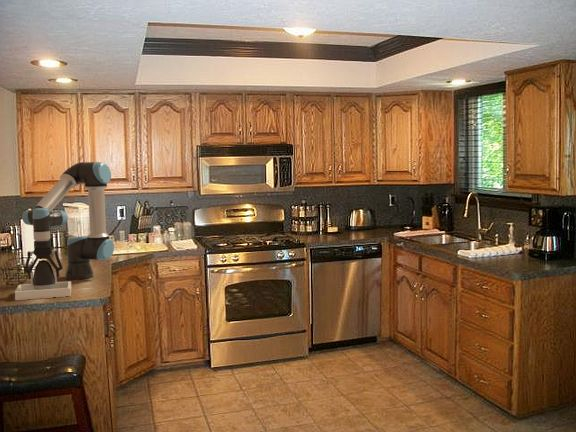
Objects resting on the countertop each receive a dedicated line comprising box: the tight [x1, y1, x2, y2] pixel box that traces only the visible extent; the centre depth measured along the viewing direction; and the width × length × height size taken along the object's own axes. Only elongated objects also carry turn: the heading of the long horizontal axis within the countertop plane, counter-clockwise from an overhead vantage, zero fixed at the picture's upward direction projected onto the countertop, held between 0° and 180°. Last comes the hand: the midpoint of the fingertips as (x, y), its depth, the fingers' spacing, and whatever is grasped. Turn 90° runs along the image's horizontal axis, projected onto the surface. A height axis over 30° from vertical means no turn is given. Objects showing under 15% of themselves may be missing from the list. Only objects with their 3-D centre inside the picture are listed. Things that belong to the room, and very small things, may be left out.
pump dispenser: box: [33, 259, 55, 290], centre depth 290 cm, size 10×10×15 cm
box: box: [14, 280, 72, 301], centre depth 291 cm, size 24×18×4 cm
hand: (44, 285), depth 291 cm, fingers closed on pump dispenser, 10 cm apart
